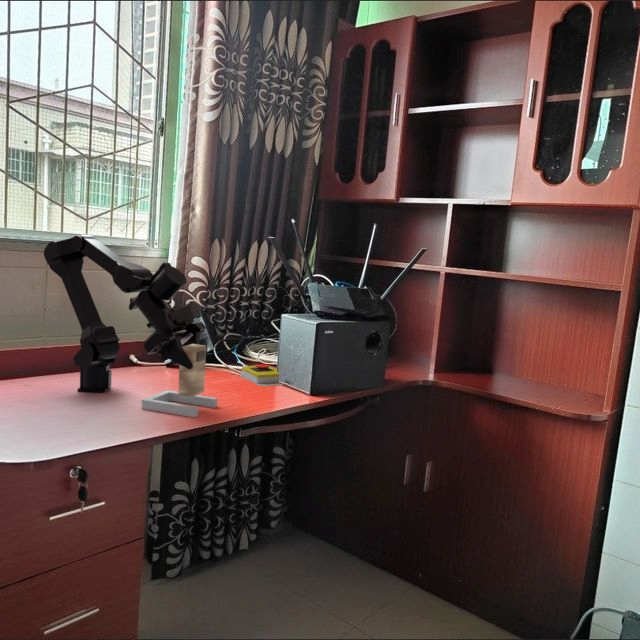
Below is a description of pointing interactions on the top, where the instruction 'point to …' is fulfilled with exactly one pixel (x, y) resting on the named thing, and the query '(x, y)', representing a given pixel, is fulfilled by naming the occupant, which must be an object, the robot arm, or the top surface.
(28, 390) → the top surface
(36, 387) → the top surface
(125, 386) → the top surface
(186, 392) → the beige rectangular block
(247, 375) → the emergency button
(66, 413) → the top surface
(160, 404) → the shallow open frame
